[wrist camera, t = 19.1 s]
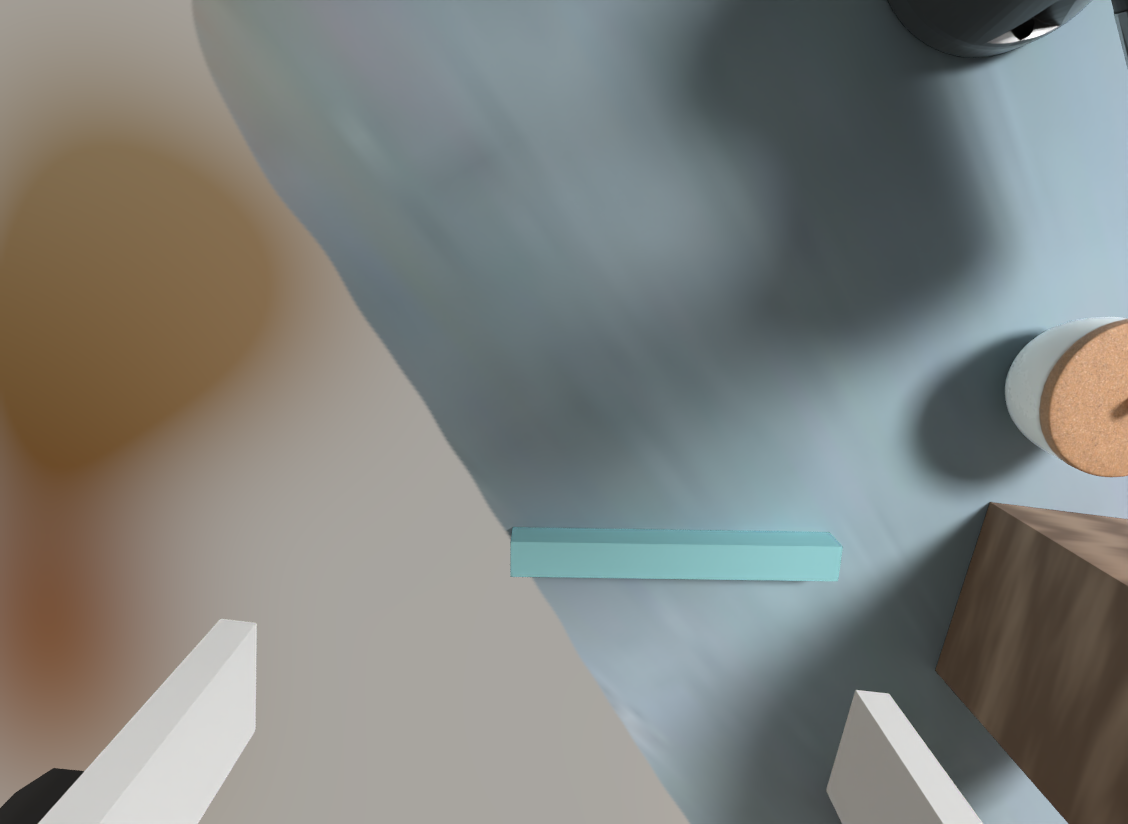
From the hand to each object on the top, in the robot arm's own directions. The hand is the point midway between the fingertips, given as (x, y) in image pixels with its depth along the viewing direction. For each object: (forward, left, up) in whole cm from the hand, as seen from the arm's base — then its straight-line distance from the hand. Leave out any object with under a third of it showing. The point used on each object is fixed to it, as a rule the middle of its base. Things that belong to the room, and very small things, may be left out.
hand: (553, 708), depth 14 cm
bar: (+7, +16, -37) cm, 41 cm away
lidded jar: (-20, +32, -37) cm, 53 cm away
